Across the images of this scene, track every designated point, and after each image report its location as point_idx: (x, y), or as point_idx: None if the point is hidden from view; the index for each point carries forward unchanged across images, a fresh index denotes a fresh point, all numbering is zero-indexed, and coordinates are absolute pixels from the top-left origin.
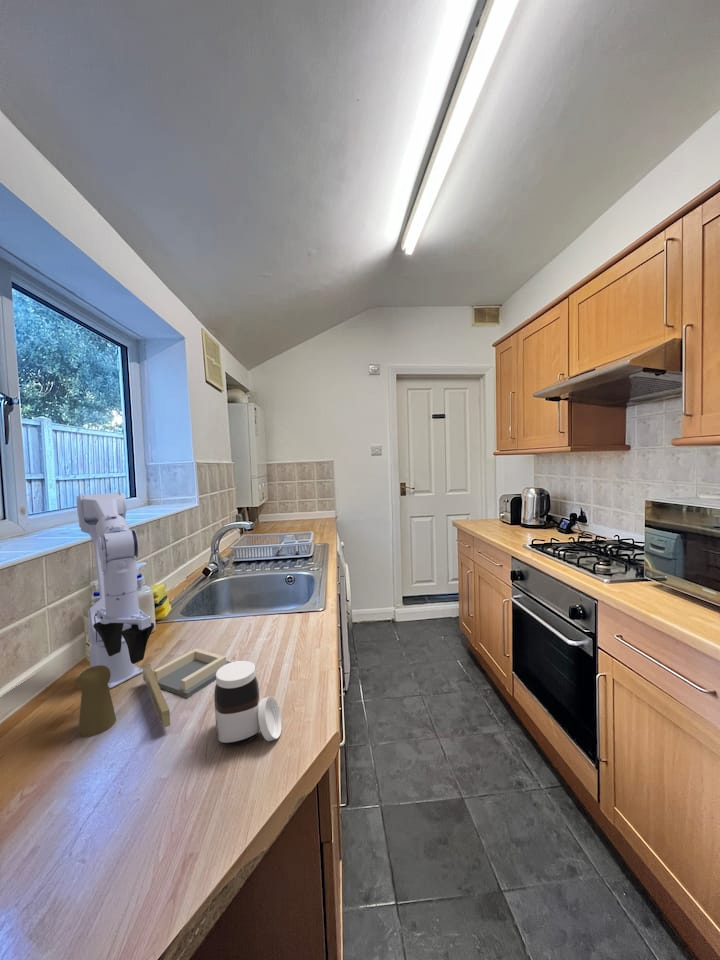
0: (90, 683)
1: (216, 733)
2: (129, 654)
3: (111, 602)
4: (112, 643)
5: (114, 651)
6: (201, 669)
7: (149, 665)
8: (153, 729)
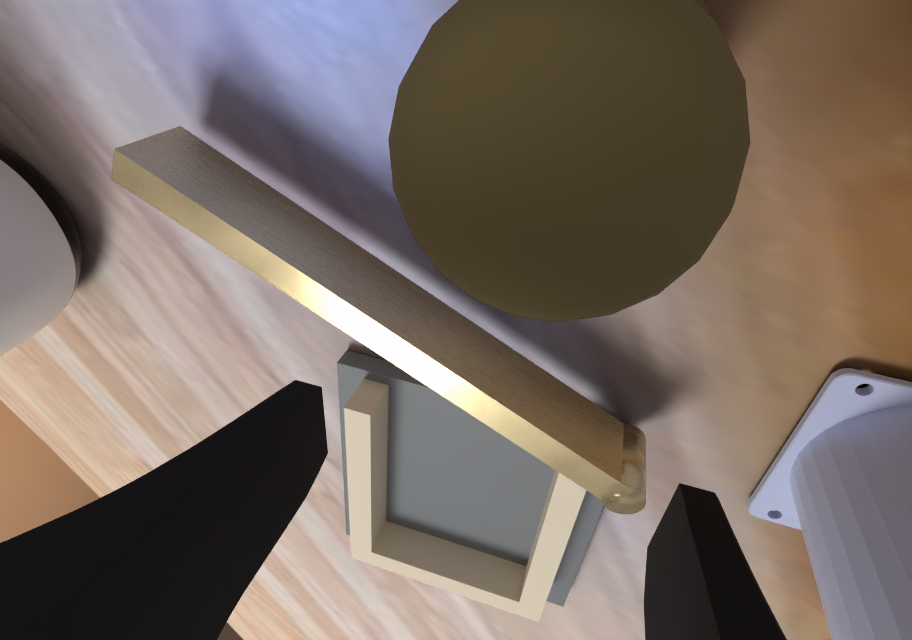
0: (440, 20)
1: (9, 168)
2: (248, 440)
3: None
4: (680, 637)
5: (668, 542)
6: (361, 485)
7: (605, 501)
8: (280, 137)
